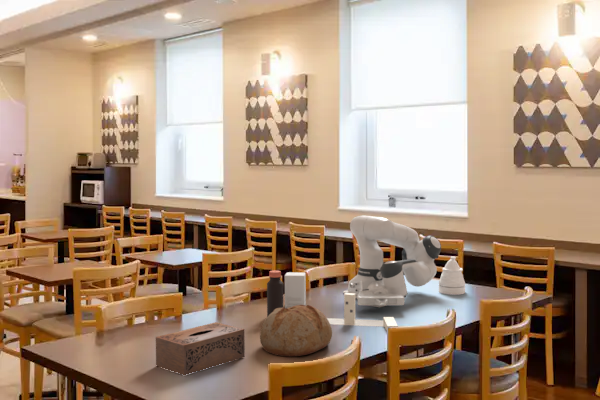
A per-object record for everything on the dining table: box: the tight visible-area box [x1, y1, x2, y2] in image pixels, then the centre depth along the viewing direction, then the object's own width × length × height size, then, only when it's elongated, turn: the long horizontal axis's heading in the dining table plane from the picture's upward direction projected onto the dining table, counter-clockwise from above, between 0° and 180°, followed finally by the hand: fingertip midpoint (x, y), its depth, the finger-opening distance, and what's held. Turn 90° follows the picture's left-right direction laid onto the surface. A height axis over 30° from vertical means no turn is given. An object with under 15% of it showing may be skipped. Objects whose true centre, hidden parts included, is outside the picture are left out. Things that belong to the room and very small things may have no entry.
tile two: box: [343, 293, 356, 324], centre depth 270 cm, size 3×4×12 cm
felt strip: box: [326, 317, 385, 328], centre depth 272 cm, size 36×10×1 cm, turn 80°
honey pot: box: [438, 256, 466, 296], centre depth 334 cm, size 13×13×18 cm
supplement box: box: [284, 271, 307, 309], centre depth 302 cm, size 9×9×15 cm
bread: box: [259, 304, 333, 357], centre depth 238 cm, size 26×23×15 cm
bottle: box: [266, 269, 284, 318], centre depth 279 cm, size 7×7×20 cm
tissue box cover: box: [155, 321, 246, 375], centre depth 221 cm, size 26×14×10 cm, turn 138°
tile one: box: [382, 316, 399, 332], centre depth 262 cm, size 3×4×12 cm
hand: (382, 303), depth 281 cm, fingers closed
